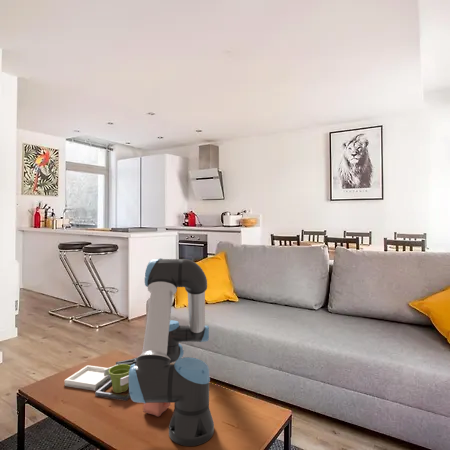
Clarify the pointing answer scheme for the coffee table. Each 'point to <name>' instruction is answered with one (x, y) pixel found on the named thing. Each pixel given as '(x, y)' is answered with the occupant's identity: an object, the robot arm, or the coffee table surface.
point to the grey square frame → (111, 395)
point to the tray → (88, 378)
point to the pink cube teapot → (155, 408)
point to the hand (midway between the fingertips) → (112, 377)
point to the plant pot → (118, 373)
